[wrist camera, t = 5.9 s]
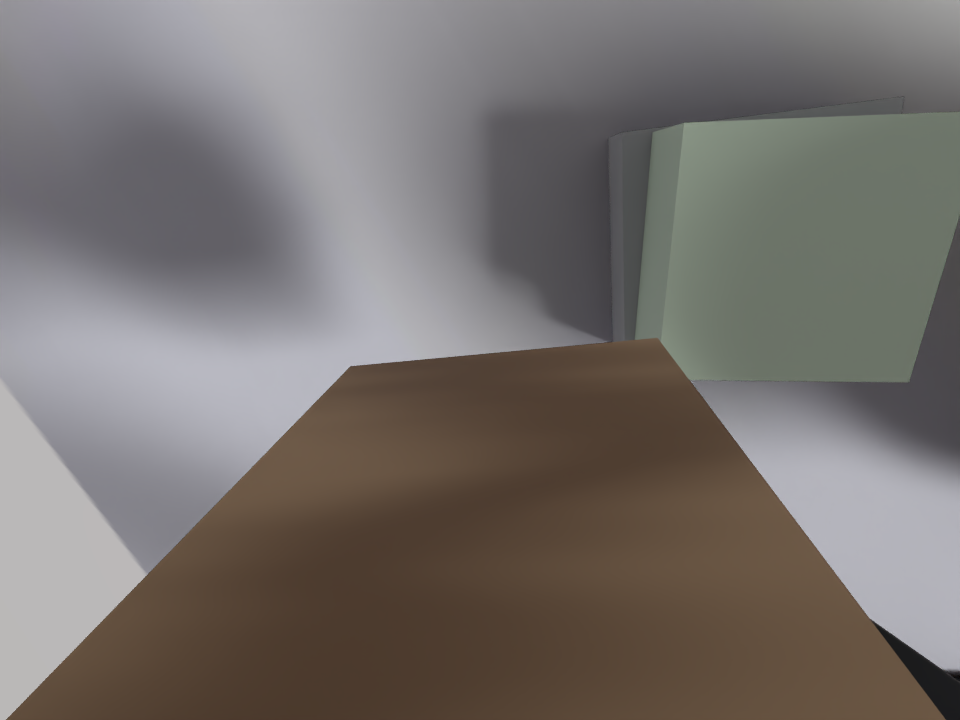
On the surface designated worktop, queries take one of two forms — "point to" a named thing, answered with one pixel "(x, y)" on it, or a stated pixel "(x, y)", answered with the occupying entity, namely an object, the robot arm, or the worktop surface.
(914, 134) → the top block
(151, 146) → the worktop surface
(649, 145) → the base block
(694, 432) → the tan rectangular prism
